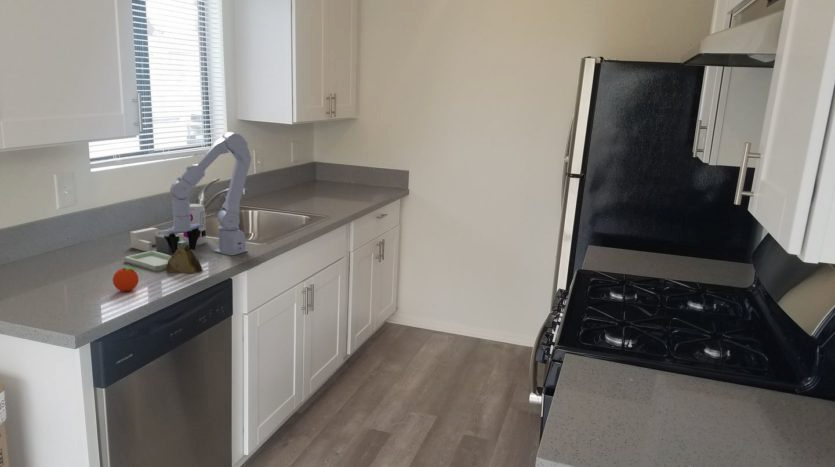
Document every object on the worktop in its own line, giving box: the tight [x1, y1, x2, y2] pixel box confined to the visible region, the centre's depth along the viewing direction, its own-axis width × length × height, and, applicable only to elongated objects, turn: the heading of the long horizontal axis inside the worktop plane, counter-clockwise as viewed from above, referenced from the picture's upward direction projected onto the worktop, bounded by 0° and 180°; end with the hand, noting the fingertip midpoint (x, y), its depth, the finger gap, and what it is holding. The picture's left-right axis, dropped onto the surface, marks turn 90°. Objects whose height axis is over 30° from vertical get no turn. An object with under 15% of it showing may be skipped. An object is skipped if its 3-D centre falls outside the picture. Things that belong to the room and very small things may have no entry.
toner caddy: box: [155, 233, 187, 255], centre depth 220 cm, size 12×5×6 cm, turn 59°
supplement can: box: [182, 203, 207, 246], centre depth 233 cm, size 8×8×15 cm
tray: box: [123, 250, 173, 272], centre depth 208 cm, size 18×11×2 cm, turn 59°
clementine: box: [112, 267, 142, 292], centre depth 180 cm, size 8×7×7 cm
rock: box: [165, 245, 204, 274], centre depth 200 cm, size 11×9×10 cm
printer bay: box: [129, 227, 159, 252], centre depth 226 cm, size 10×9×6 cm
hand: (183, 251), depth 217 cm, fingers open, 7 cm apart
